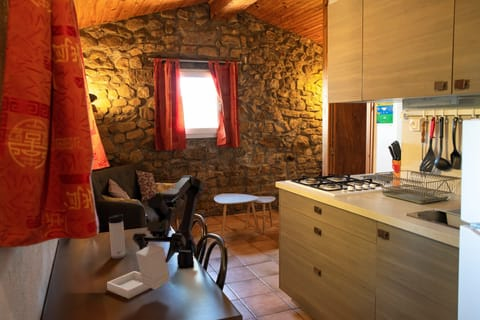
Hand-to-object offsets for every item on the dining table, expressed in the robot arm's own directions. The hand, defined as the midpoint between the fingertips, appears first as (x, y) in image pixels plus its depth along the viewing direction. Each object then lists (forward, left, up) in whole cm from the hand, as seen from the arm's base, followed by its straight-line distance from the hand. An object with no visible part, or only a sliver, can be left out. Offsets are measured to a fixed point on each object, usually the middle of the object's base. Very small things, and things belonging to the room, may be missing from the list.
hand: (154, 261), depth 133 cm
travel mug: (+22, -46, -13) cm, 53 cm away
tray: (+10, -10, -13) cm, 19 cm away
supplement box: (0, 0, -8) cm, 8 cm away
